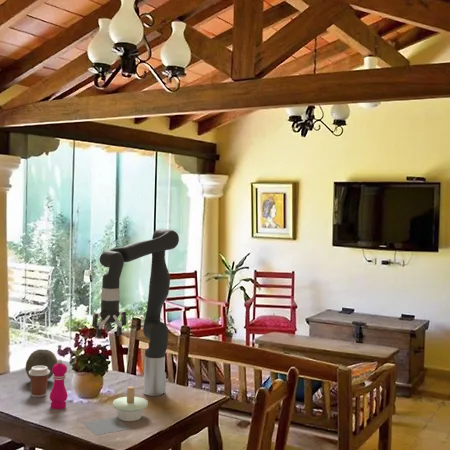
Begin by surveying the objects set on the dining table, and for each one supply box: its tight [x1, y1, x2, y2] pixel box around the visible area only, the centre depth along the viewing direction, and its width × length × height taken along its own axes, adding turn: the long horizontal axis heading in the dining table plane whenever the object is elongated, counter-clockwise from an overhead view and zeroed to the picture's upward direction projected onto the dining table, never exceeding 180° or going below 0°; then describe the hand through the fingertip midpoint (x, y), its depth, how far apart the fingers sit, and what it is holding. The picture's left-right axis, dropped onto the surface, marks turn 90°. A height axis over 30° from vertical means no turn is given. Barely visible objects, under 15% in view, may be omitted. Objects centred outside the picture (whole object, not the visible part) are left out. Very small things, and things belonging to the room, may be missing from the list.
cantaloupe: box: [25, 349, 58, 380], centre depth 286 cm, size 14×14×15 cm
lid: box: [112, 385, 149, 411], centre depth 245 cm, size 14×14×7 cm
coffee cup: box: [29, 366, 50, 398], centre depth 268 cm, size 9×9×12 cm
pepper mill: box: [49, 359, 68, 410], centre depth 253 cm, size 7×7×20 cm
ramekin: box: [116, 409, 144, 422], centre depth 245 cm, size 11×11×5 cm
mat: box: [82, 416, 131, 436], centre depth 234 cm, size 14×14×1 cm
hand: (108, 336), depth 255 cm, fingers open, 8 cm apart
